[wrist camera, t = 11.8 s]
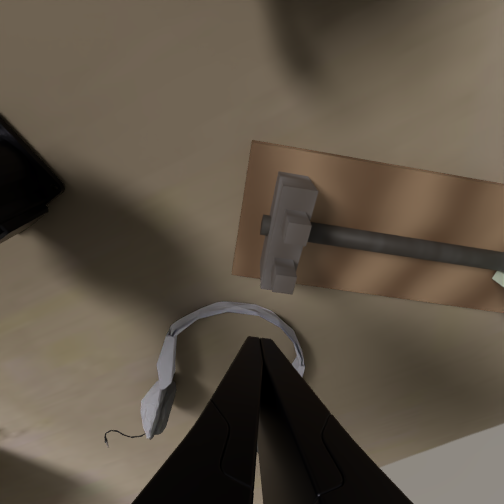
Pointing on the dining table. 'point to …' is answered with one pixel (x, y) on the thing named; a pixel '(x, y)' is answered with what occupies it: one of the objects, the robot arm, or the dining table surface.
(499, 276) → the pale green box
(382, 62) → the dining table surface
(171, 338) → the headphones
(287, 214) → the cord board
